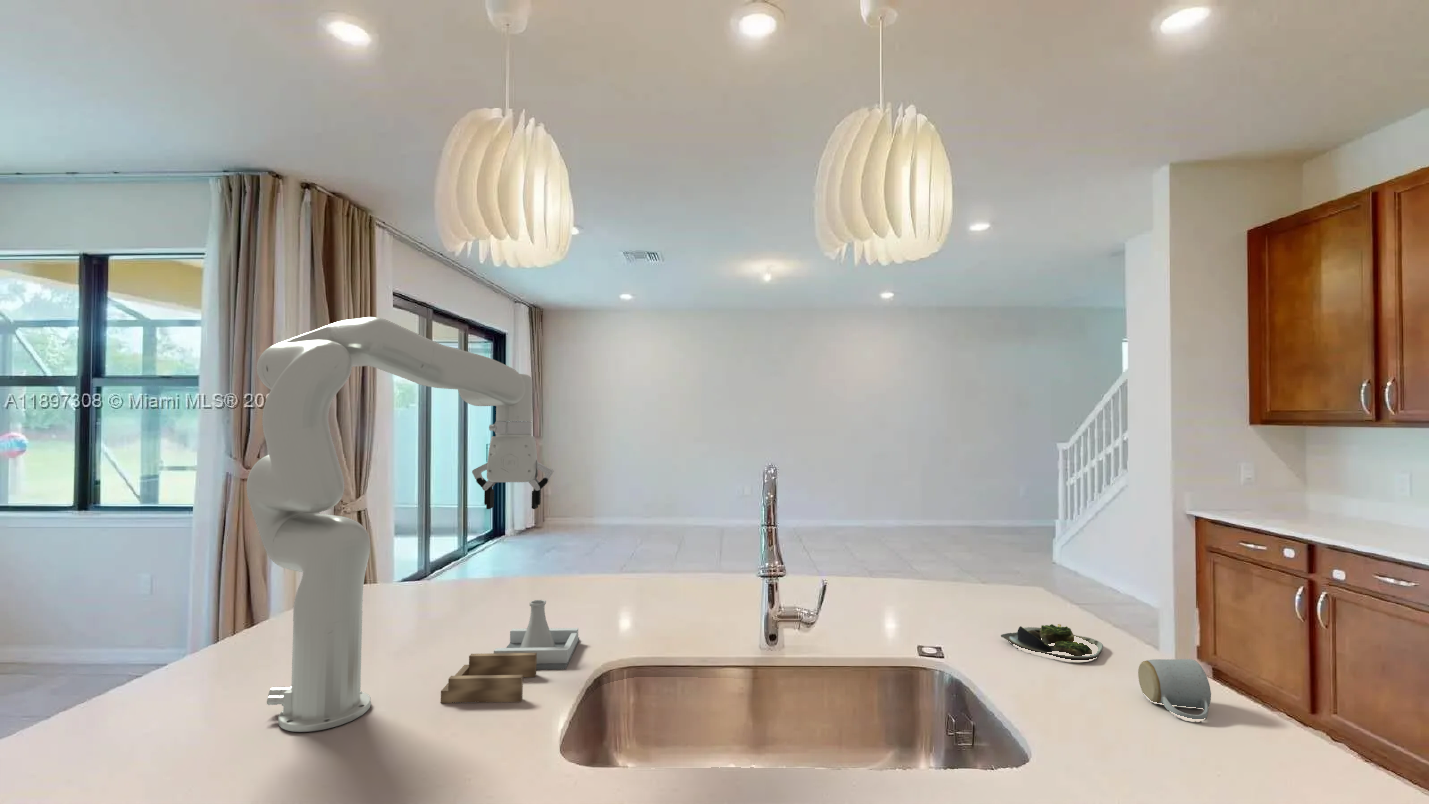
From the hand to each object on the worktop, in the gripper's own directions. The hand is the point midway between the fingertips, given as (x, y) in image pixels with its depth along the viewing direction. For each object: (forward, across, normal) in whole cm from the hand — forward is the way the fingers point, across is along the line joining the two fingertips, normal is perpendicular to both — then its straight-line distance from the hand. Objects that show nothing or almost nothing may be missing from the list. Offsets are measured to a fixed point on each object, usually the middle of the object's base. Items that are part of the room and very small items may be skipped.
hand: (512, 508), depth 136 cm
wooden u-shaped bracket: (+28, +4, -25) cm, 38 cm away
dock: (+28, +8, -9) cm, 31 cm away
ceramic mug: (+29, +120, -38) cm, 129 cm away
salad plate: (+29, +116, -9) cm, 120 cm away
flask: (+28, +8, -9) cm, 30 cm away
